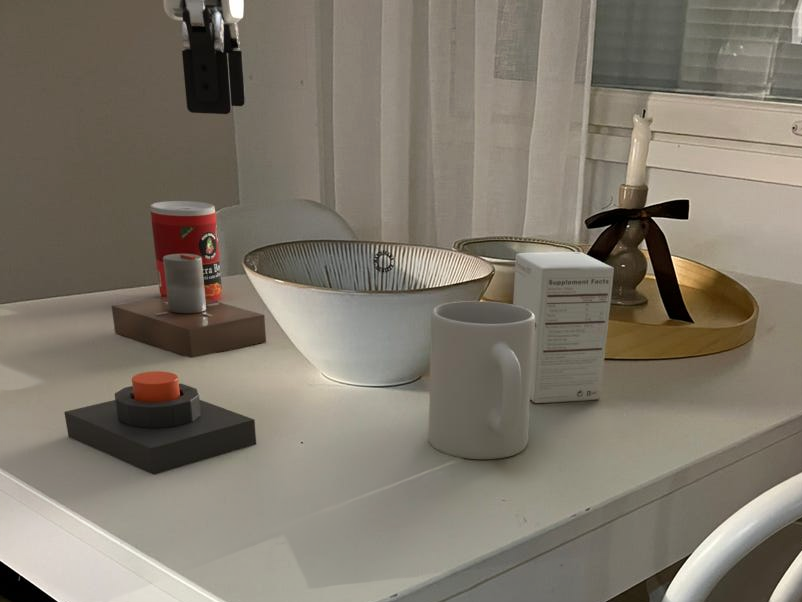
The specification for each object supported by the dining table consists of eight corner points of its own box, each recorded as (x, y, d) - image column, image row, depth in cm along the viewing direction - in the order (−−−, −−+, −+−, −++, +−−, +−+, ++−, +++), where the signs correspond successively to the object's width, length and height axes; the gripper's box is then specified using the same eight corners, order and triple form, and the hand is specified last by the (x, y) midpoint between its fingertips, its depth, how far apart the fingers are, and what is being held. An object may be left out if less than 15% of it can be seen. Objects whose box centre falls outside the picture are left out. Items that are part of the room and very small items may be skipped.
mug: (416, 430, 90) (417, 302, 85) (506, 423, 93) (513, 298, 87) (459, 479, 81) (464, 338, 75) (559, 470, 83) (570, 333, 78)
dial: (161, 309, 112) (154, 253, 110) (191, 303, 115) (186, 249, 112) (183, 315, 110) (177, 259, 107) (213, 310, 113) (209, 254, 110)
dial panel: (114, 332, 115) (110, 303, 113) (189, 319, 121) (186, 291, 120) (191, 358, 107) (188, 327, 106) (266, 342, 114) (264, 313, 112)
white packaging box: (506, 382, 104) (513, 251, 98) (573, 379, 106) (585, 250, 100) (531, 404, 98) (541, 266, 92) (602, 400, 100) (616, 265, 94)
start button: (125, 398, 83) (122, 376, 82) (162, 389, 86) (160, 368, 85) (151, 408, 81) (149, 386, 81) (189, 399, 84) (187, 377, 83)
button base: (68, 437, 85) (60, 389, 83) (169, 411, 92) (164, 367, 90) (154, 475, 79) (147, 425, 77) (256, 444, 86) (253, 397, 84)
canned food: (192, 307, 126) (182, 212, 121) (146, 298, 130) (135, 204, 124) (236, 297, 132) (229, 206, 127) (191, 288, 136) (182, 199, 130)
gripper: (164, -149, 79) (186, 100, 88) (116, -191, 64) (149, 114, 73) (262, -142, 80) (275, 104, 89) (238, -182, 65) (256, 119, 74)
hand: (218, 108), depth 81 cm, fingers open, 9 cm apart
